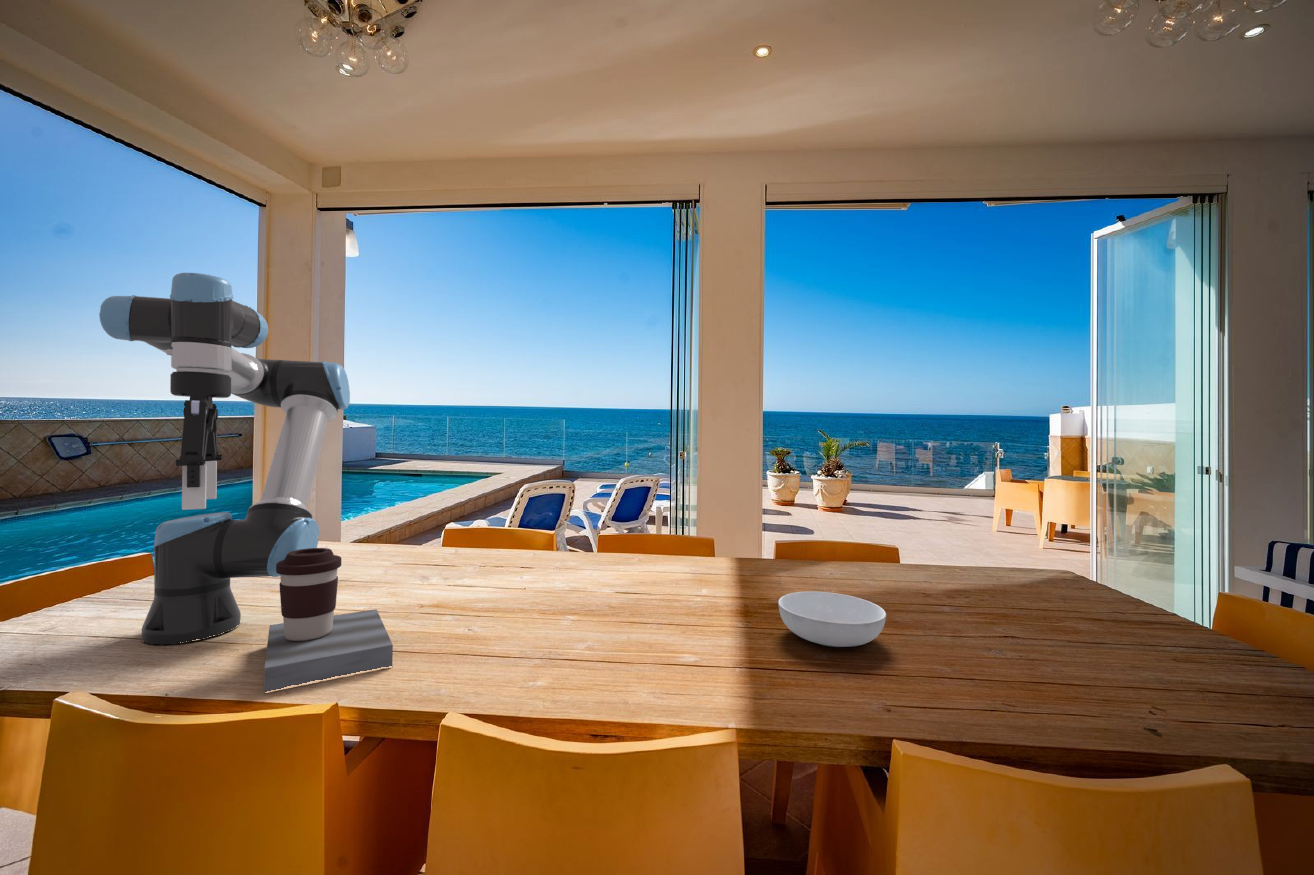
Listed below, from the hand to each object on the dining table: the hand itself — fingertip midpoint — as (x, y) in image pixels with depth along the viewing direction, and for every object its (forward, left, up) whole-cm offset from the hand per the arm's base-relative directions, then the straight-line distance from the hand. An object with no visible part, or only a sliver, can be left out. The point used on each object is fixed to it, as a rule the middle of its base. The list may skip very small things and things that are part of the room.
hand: (200, 503), depth 88 cm
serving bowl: (+42, +104, -29) cm, 116 cm away
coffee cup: (-2, +15, -25) cm, 29 cm away
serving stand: (0, +18, -29) cm, 34 cm away
